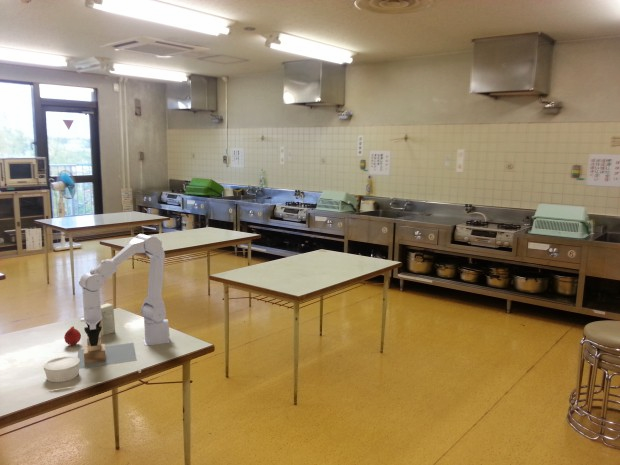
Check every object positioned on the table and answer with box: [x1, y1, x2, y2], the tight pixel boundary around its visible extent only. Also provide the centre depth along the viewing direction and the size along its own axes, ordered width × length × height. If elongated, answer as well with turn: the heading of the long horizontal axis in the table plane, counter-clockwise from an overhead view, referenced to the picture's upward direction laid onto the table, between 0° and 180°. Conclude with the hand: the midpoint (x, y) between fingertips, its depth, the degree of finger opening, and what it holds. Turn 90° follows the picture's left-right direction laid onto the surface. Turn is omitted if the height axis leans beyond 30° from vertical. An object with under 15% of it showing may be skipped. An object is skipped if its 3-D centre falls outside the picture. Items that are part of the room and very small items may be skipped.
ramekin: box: [43, 356, 80, 383], centre depth 165 cm, size 11×11×5 cm
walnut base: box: [83, 343, 106, 364], centre depth 179 cm, size 7×7×4 cm
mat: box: [77, 342, 138, 370], centre depth 182 cm, size 20×18×1 cm
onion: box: [64, 325, 82, 347], centre depth 191 cm, size 6×6×8 cm
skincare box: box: [99, 302, 116, 336], centre depth 204 cm, size 6×4×12 cm
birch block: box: [86, 333, 102, 352], centre depth 178 cm, size 4×4×5 cm
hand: (94, 341), depth 178 cm, fingers open, 7 cm apart
